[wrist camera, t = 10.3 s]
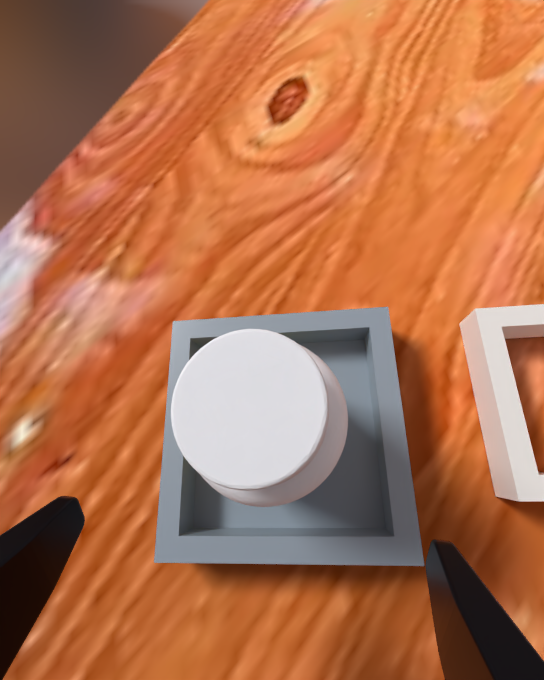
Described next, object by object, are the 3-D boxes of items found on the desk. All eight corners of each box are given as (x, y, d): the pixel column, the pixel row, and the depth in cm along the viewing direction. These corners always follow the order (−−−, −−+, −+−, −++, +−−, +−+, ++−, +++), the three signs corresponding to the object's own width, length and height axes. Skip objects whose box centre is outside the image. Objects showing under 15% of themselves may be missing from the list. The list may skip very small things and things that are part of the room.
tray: (408, 549, 16) (424, 566, 13) (176, 548, 17) (154, 562, 15) (379, 325, 19) (388, 306, 17) (189, 336, 21) (173, 321, 18)
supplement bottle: (305, 361, 19) (293, 268, 9) (358, 456, 17) (406, 454, 8) (215, 408, 18) (115, 359, 9) (259, 509, 17) (187, 572, 7)
